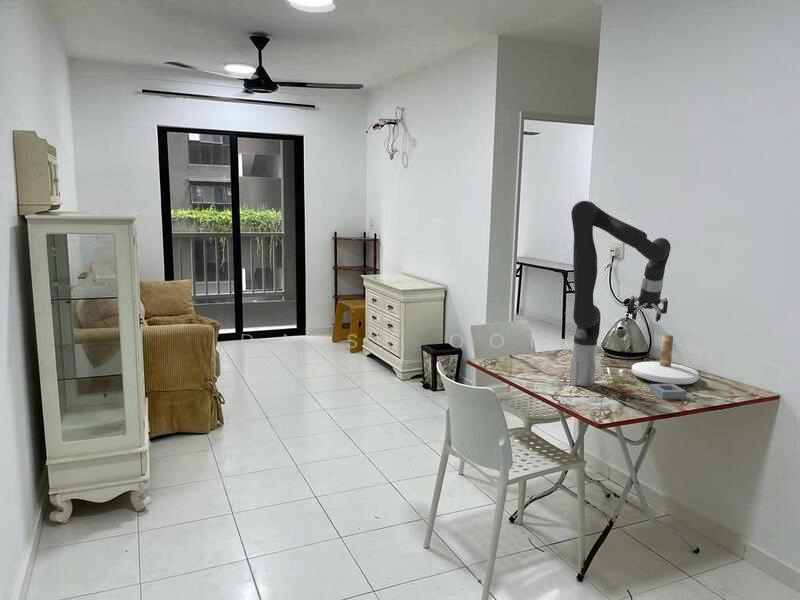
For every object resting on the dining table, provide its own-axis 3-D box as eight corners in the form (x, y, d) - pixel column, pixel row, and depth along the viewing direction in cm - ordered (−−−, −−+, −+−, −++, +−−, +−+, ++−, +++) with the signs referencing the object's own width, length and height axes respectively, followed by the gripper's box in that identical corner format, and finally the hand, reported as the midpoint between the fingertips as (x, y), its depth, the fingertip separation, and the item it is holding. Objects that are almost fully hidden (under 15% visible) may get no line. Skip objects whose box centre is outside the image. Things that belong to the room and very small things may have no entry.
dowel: (663, 366, 247) (665, 337, 245) (657, 364, 251) (659, 334, 249) (672, 366, 248) (675, 336, 245) (667, 363, 252) (669, 334, 250)
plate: (626, 357, 266) (689, 361, 260) (625, 371, 266) (688, 376, 261) (639, 368, 238) (709, 373, 233) (638, 384, 239) (708, 389, 233)
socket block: (662, 399, 223) (662, 391, 223) (649, 391, 233) (650, 384, 232) (685, 398, 224) (686, 391, 224) (672, 390, 234) (672, 383, 233)
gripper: (670, 282, 232) (663, 316, 240) (632, 280, 235) (626, 313, 244) (672, 292, 226) (665, 326, 234) (633, 290, 229) (627, 323, 238)
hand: (645, 319), depth 239 cm, fingers open, 8 cm apart
